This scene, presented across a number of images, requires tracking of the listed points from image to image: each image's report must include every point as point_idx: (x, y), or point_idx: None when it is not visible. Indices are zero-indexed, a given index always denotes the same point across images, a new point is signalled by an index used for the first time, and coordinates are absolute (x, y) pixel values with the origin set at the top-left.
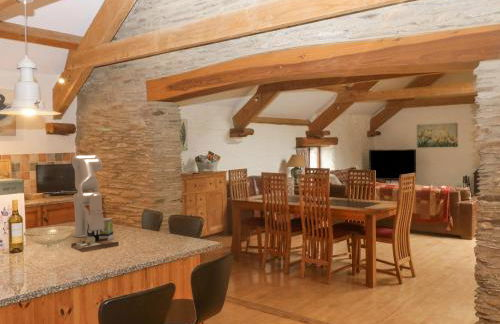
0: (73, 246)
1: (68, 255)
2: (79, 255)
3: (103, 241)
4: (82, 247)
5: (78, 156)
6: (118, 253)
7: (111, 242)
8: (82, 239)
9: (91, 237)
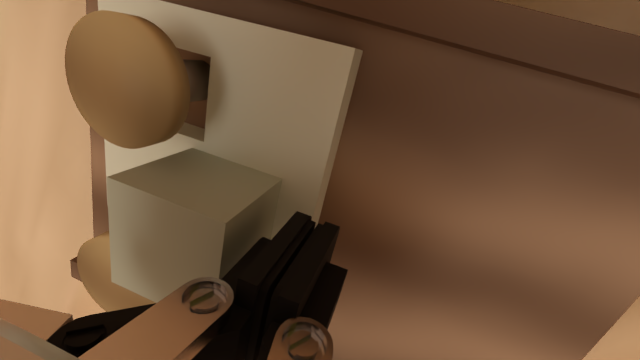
0: (87, 9)
1: (10, 230)
2: (64, 304)
3: (580, 163)
4: (77, 270)
5: None
6: None
7: (546, 341)
8: (93, 102)
9: (171, 271)
